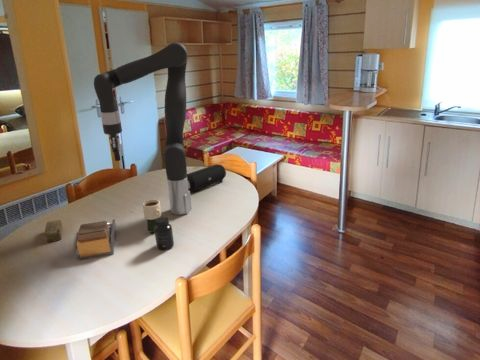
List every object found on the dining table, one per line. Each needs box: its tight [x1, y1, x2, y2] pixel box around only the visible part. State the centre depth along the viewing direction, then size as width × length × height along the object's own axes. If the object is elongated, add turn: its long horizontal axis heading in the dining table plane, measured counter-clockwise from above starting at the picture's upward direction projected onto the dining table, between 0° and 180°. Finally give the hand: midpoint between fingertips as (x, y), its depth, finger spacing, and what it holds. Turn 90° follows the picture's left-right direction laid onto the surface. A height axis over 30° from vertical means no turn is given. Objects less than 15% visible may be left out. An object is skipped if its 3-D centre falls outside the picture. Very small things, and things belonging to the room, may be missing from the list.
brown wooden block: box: [77, 220, 110, 242], centre depth 134 cm, size 8×10×7 cm
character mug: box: [142, 198, 162, 233], centre depth 147 cm, size 11×7×13 cm, turn 47°
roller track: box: [75, 219, 117, 261], centre depth 141 cm, size 24×13×7 cm, turn 16°
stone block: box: [44, 219, 64, 243], centre depth 147 cm, size 6×12×5 cm, turn 24°
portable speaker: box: [187, 163, 227, 193], centre depth 192 cm, size 26×10×10 cm, turn 135°
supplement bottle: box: [153, 216, 175, 251], centre depth 135 cm, size 7×7×12 cm
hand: (117, 160), depth 154 cm, fingers closed
